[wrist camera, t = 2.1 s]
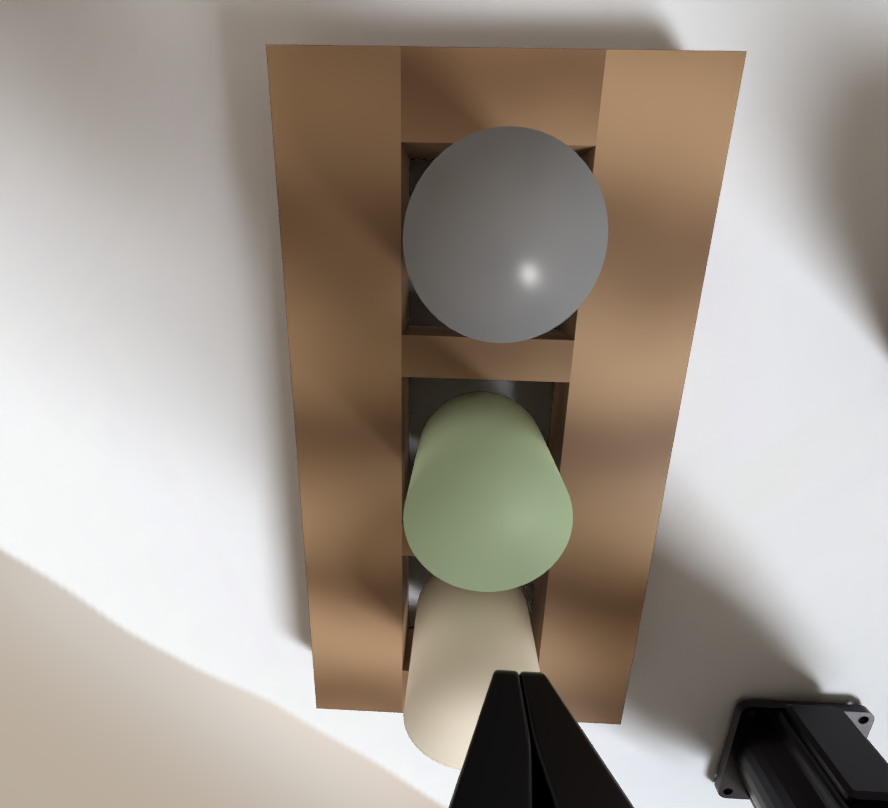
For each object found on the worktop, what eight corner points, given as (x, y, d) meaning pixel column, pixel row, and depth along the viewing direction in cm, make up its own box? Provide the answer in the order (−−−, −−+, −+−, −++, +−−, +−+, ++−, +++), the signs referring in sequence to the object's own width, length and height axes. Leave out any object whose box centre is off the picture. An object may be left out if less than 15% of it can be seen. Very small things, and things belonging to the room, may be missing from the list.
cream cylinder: (523, 656, 21) (541, 775, 16) (416, 651, 21) (403, 767, 16) (531, 566, 19) (554, 666, 15) (417, 561, 20) (403, 659, 15)
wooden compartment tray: (604, 677, 24) (620, 724, 21) (330, 663, 24) (316, 708, 22) (703, 82, 16) (746, 51, 13) (295, 76, 16) (266, 44, 14)
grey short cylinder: (555, 320, 16) (594, 346, 12) (419, 316, 16) (402, 340, 12) (570, 169, 15) (621, 128, 10) (421, 166, 15) (402, 123, 10)
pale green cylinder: (537, 509, 19) (563, 595, 14) (418, 504, 19) (403, 588, 14) (548, 393, 17) (582, 446, 12) (419, 389, 17) (402, 439, 12)
